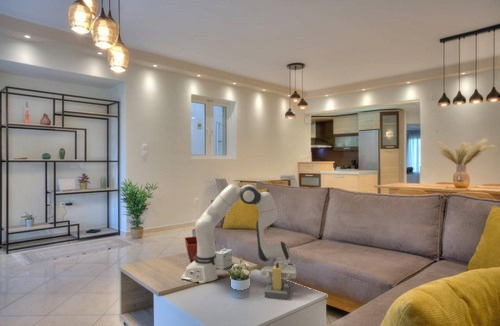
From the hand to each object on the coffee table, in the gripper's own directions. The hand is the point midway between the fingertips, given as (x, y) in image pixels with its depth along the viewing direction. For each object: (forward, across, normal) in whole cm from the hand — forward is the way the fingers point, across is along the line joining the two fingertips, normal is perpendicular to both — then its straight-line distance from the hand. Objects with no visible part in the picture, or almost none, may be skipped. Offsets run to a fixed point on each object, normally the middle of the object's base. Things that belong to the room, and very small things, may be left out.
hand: (277, 278), depth 173 cm
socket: (-1, 0, +9) cm, 9 cm away
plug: (-1, 0, +8) cm, 9 cm away
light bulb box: (-33, -41, +9) cm, 53 cm away
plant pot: (-35, -59, +9) cm, 69 cm away
